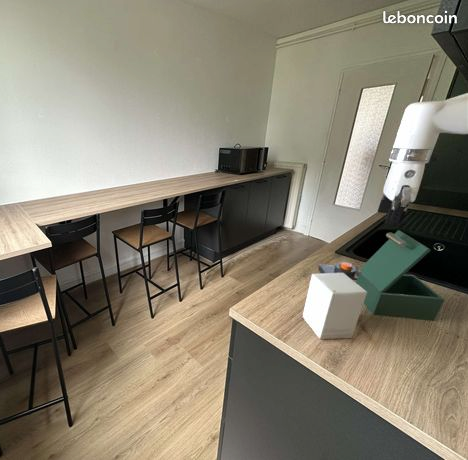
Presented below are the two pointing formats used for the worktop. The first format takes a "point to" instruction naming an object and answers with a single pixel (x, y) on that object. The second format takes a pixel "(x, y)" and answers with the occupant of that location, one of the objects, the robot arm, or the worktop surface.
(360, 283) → the green lidded box
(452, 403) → the worktop surface
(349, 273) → the control block
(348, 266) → the button
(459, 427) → the worktop surface
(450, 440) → the worktop surface
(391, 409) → the worktop surface
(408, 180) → the robot arm
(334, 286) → the white product box
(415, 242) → the green box lid
